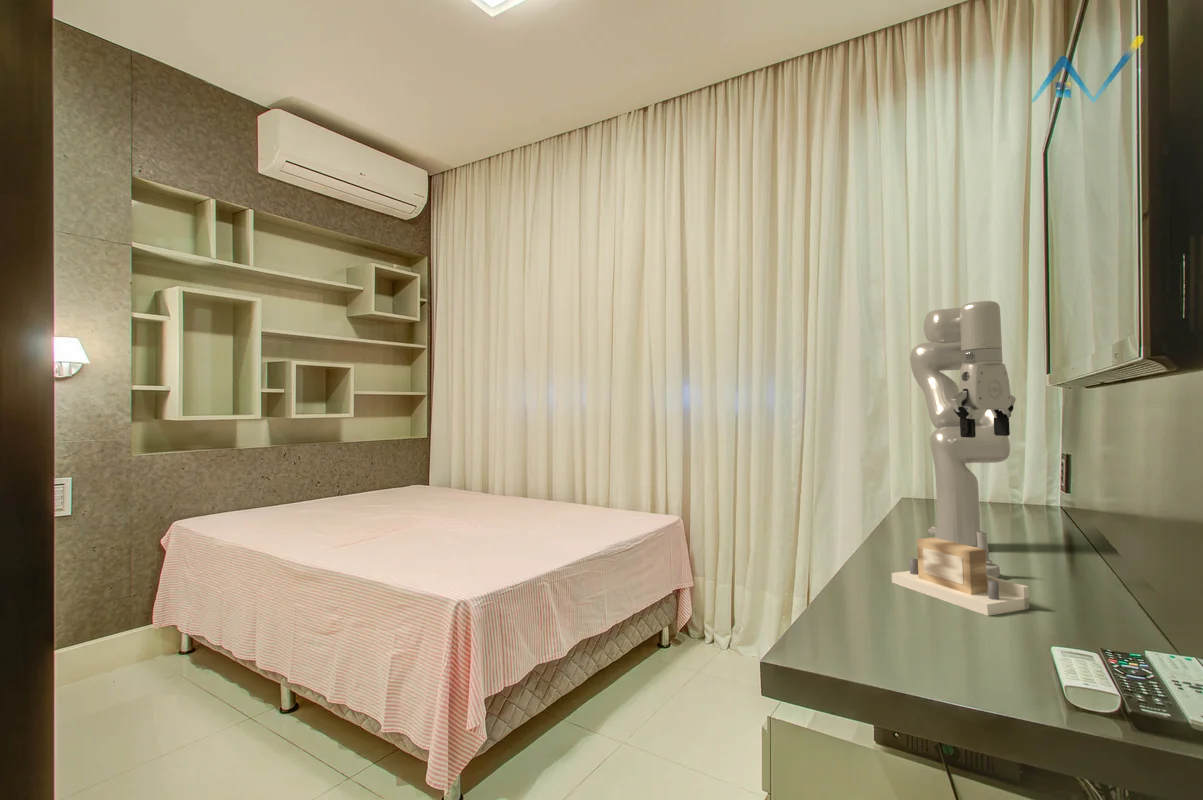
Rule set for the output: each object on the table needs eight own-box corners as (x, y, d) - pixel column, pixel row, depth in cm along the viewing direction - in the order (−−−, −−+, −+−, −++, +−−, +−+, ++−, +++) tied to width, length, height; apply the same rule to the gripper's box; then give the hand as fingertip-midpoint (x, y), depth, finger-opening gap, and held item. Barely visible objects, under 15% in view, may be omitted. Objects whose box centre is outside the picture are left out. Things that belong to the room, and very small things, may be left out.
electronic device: (933, 523, 139) (1001, 531, 126) (936, 565, 139) (1005, 577, 126) (920, 526, 137) (987, 534, 124) (923, 568, 136) (991, 581, 123)
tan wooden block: (918, 578, 120) (916, 539, 120) (933, 576, 121) (932, 537, 121) (970, 594, 109) (968, 551, 109) (987, 592, 110) (985, 549, 110)
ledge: (892, 582, 124) (891, 559, 124) (929, 577, 127) (928, 554, 127) (987, 615, 103) (986, 587, 103) (1029, 608, 106) (1028, 581, 106)
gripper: (966, 356, 122) (970, 438, 122) (1027, 356, 127) (1031, 435, 127) (936, 360, 129) (939, 437, 129) (995, 360, 134) (998, 434, 134)
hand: (985, 436), depth 128 cm, fingers open, 9 cm apart
